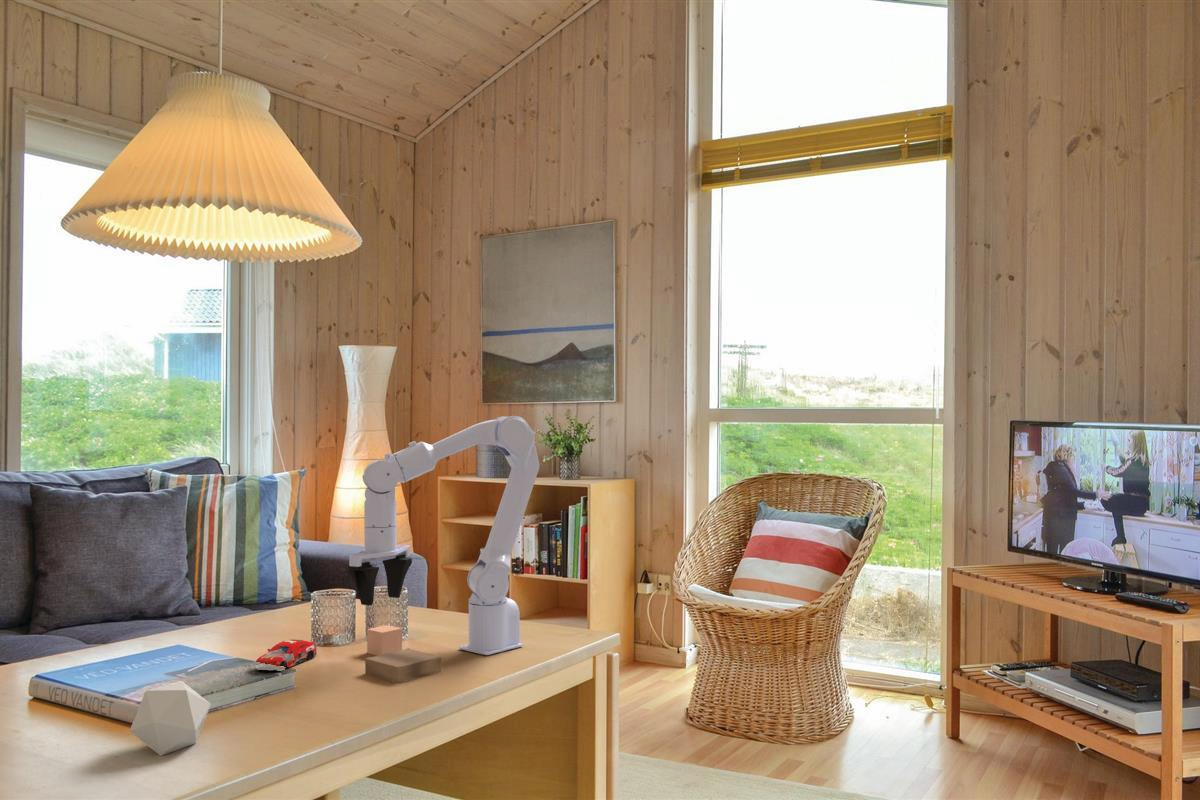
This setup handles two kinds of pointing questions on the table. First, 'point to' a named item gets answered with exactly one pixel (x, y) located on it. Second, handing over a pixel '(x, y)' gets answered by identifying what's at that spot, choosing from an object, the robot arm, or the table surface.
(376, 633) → the terracotta cube
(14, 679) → the table surface
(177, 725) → the die
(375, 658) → the walnut block
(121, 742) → the table surface
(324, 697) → the table surface
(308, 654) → the race car
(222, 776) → the table surface
